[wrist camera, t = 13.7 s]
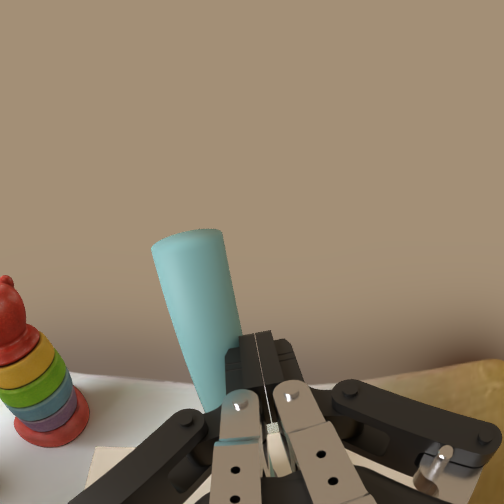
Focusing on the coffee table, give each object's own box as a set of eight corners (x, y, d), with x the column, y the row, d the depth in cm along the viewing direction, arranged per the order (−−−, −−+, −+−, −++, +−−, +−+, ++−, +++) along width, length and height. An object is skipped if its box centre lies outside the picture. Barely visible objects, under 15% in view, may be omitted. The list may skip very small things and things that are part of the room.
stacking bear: (62, 383, 33) (7, 263, 27) (109, 405, 29) (43, 263, 23) (13, 429, 23) (-62, 303, 18) (54, 465, 20) (-47, 317, 14)
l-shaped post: (290, 588, 9) (198, 476, 3) (242, 591, 9) (19, 452, 3) (273, 462, 20) (223, 225, 14) (236, 467, 20) (159, 236, 14)
